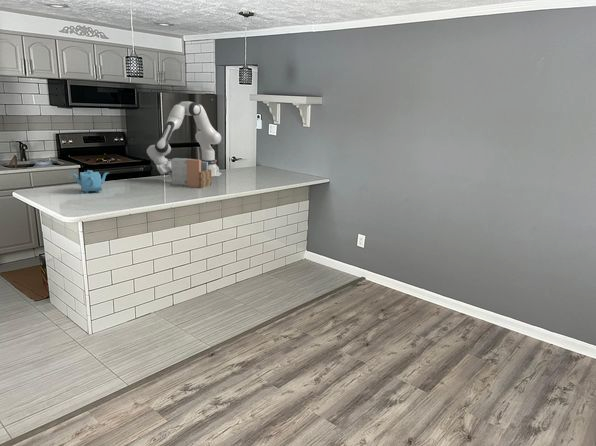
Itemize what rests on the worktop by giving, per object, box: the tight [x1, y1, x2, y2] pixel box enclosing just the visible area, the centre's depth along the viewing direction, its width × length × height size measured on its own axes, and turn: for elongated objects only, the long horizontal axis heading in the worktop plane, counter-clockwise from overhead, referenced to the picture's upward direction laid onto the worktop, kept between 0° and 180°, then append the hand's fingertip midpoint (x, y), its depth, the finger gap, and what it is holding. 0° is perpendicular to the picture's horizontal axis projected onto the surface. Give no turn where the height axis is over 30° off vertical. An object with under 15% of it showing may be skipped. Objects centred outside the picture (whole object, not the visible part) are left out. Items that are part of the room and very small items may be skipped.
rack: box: [199, 169, 213, 189], centre depth 348 cm, size 18×2×12 cm, turn 166°
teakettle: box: [70, 169, 109, 194], centre depth 310 cm, size 19×19×15 cm
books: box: [186, 158, 208, 189], centre depth 348 cm, size 16×10×21 cm, turn 166°
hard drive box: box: [170, 157, 188, 186], centre depth 350 cm, size 16×8×20 cm, turn 80°
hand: (173, 176), depth 354 cm, fingers closed
